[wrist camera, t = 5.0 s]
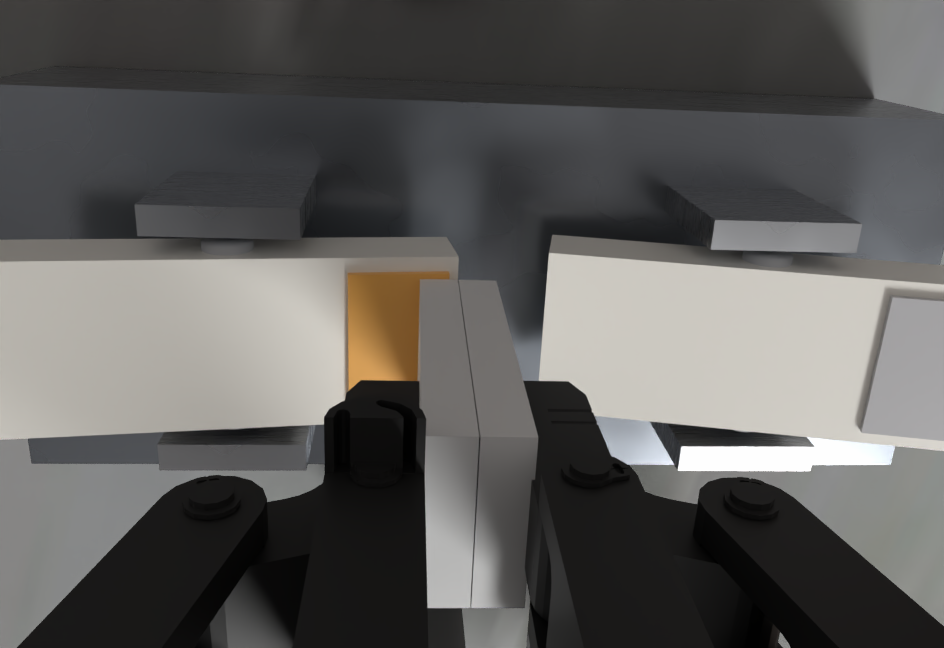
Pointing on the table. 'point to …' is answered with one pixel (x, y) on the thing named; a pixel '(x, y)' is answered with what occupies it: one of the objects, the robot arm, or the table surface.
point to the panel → (465, 201)
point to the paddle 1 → (203, 329)
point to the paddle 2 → (749, 339)
